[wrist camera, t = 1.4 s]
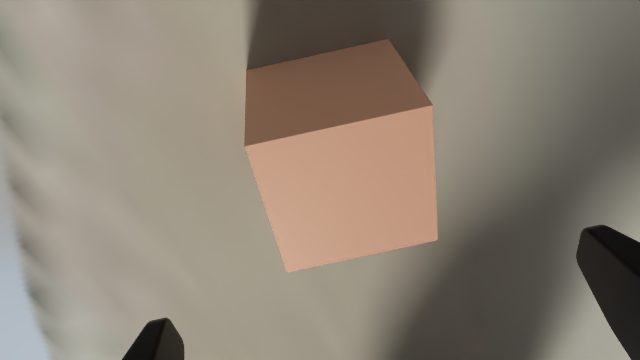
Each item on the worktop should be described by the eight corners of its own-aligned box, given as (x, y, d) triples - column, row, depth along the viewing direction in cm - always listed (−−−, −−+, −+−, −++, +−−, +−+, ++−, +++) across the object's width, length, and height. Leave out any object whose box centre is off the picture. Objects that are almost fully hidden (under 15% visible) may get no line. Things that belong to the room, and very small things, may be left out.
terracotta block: (398, 155, 17) (437, 240, 14) (279, 181, 17) (286, 272, 14) (388, 38, 14) (433, 105, 11) (246, 69, 14) (244, 146, 11)
